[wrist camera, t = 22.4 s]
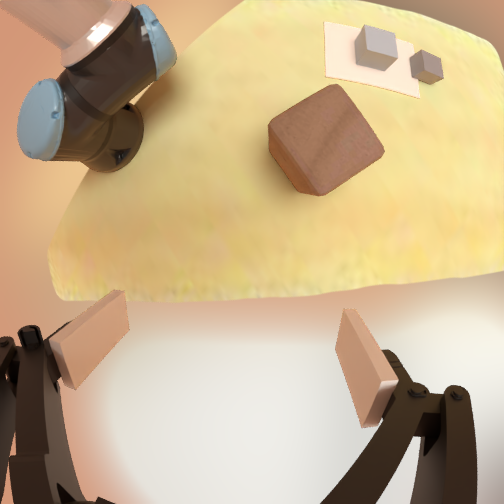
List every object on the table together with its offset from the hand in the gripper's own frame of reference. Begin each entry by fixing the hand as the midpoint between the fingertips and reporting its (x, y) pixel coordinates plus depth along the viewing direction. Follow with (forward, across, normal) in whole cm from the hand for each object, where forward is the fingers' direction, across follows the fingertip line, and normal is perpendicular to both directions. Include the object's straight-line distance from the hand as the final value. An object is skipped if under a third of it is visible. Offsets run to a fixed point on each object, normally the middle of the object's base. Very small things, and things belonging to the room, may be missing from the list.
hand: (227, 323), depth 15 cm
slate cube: (+34, +20, +36) cm, 54 cm away
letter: (+35, +21, +36) cm, 55 cm away
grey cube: (+34, +32, +36) cm, 60 cm away
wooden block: (+35, +8, +14) cm, 38 cm away
